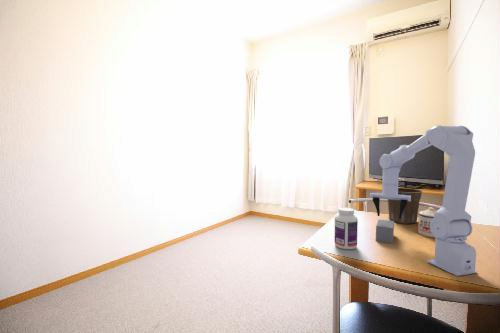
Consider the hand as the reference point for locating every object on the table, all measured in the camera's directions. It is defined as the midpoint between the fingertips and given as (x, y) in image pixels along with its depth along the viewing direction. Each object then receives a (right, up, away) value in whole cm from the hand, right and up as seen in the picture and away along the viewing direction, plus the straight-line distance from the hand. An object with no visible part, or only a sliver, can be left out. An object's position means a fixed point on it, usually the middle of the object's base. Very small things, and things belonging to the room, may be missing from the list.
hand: (389, 216), depth 103 cm
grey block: (-1, -9, +1) cm, 9 cm away
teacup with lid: (+21, -9, +4) cm, 24 cm away
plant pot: (+21, -7, +25) cm, 34 cm away
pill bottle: (-21, -10, -8) cm, 24 cm away
